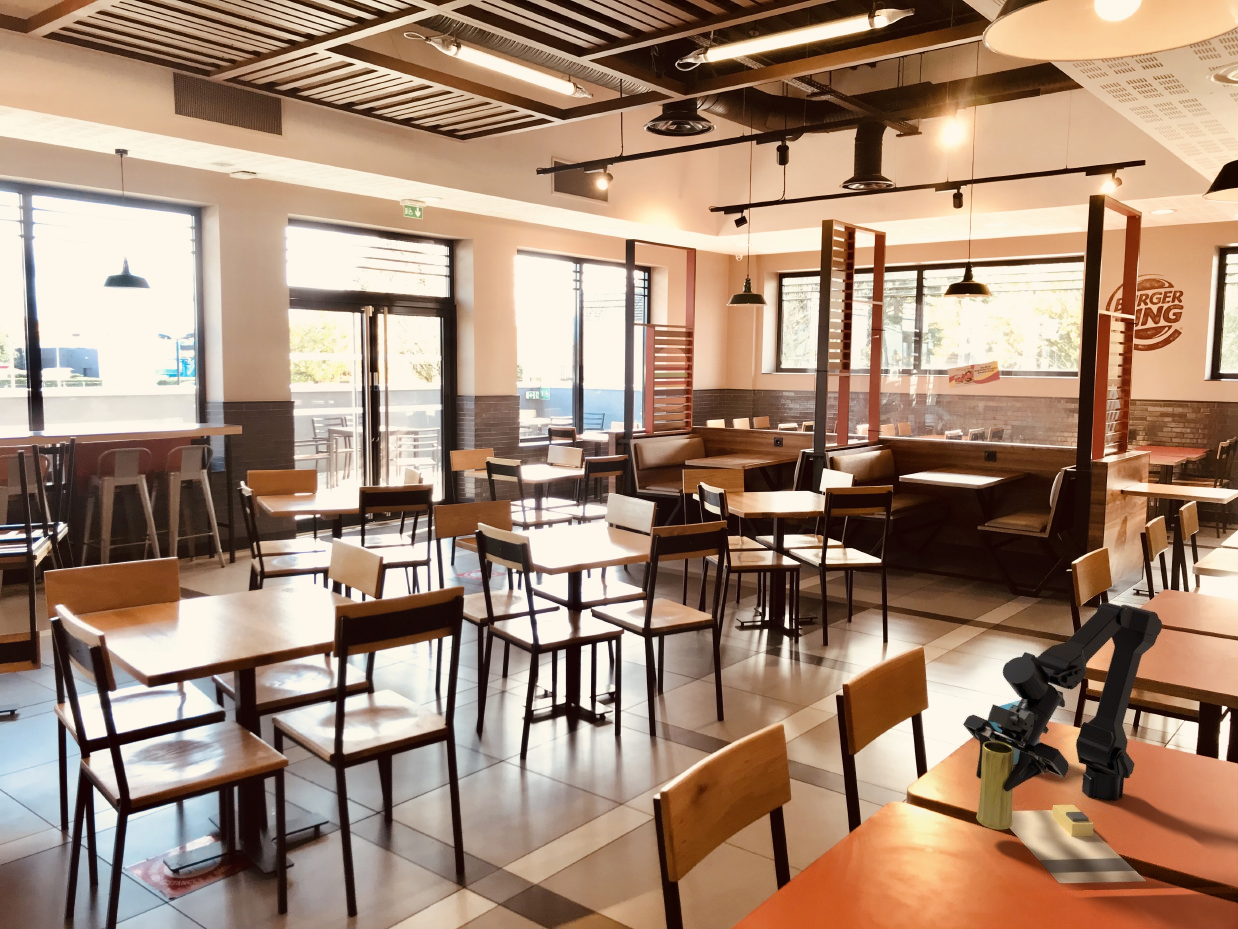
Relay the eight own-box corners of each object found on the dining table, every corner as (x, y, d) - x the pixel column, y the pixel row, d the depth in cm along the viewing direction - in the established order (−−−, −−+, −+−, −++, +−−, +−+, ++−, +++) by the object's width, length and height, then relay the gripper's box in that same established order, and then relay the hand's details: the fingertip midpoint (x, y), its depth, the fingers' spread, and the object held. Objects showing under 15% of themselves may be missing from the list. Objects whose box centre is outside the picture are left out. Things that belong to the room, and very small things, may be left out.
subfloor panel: (1070, 813, 180) (1070, 809, 180) (1145, 885, 156) (1146, 881, 156) (994, 815, 179) (994, 811, 179) (1059, 887, 156) (1059, 883, 156)
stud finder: (1052, 817, 177) (1053, 802, 177) (1072, 816, 178) (1073, 801, 177) (1071, 836, 170) (1072, 820, 170) (1092, 835, 171) (1093, 820, 170)
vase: (996, 833, 165) (1000, 757, 163) (968, 817, 170) (972, 743, 168) (1019, 825, 167) (1024, 750, 166) (992, 810, 173) (996, 737, 171)
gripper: (972, 673, 175) (929, 741, 171) (1062, 706, 160) (1018, 782, 155) (997, 704, 180) (956, 771, 176) (1087, 739, 165) (1045, 814, 161)
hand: (991, 783), depth 167 cm, fingers closed on vase, 5 cm apart
